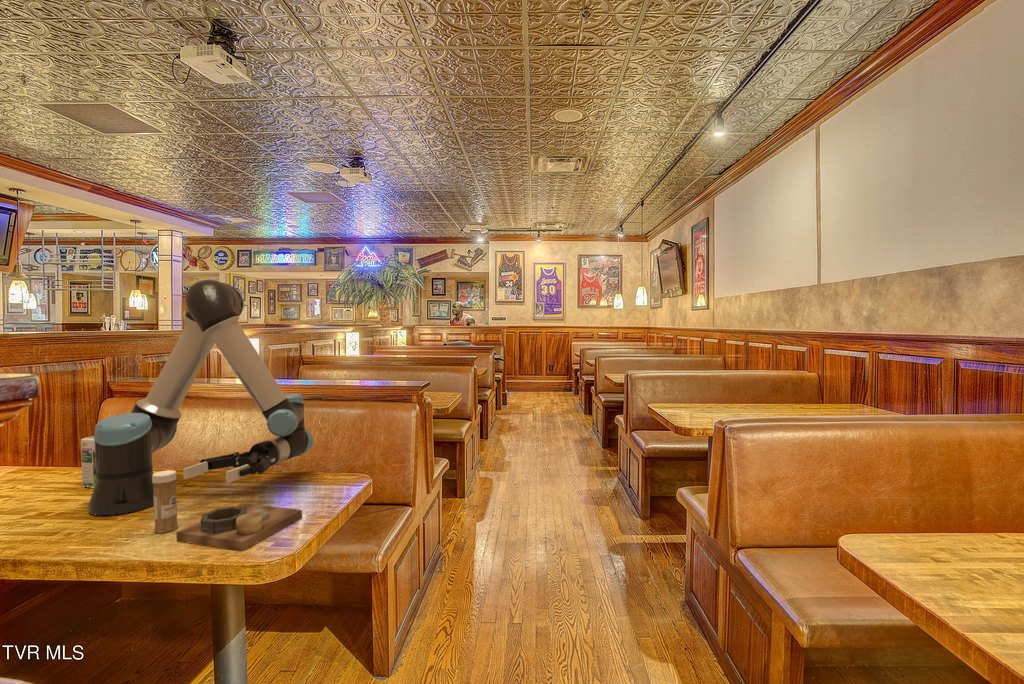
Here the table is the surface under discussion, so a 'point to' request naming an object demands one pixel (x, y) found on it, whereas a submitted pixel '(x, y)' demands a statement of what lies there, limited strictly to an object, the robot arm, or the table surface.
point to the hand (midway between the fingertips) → (205, 475)
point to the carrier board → (238, 540)
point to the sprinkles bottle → (165, 501)
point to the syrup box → (88, 462)
